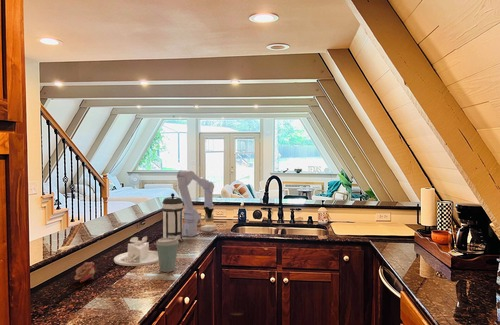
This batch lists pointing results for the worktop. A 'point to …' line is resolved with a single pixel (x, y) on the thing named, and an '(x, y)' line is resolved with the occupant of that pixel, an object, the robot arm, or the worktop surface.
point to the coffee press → (173, 217)
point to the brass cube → (208, 218)
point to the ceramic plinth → (208, 228)
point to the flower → (85, 271)
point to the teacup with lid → (200, 218)
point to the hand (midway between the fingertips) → (208, 217)
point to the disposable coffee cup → (167, 253)
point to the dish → (137, 254)
